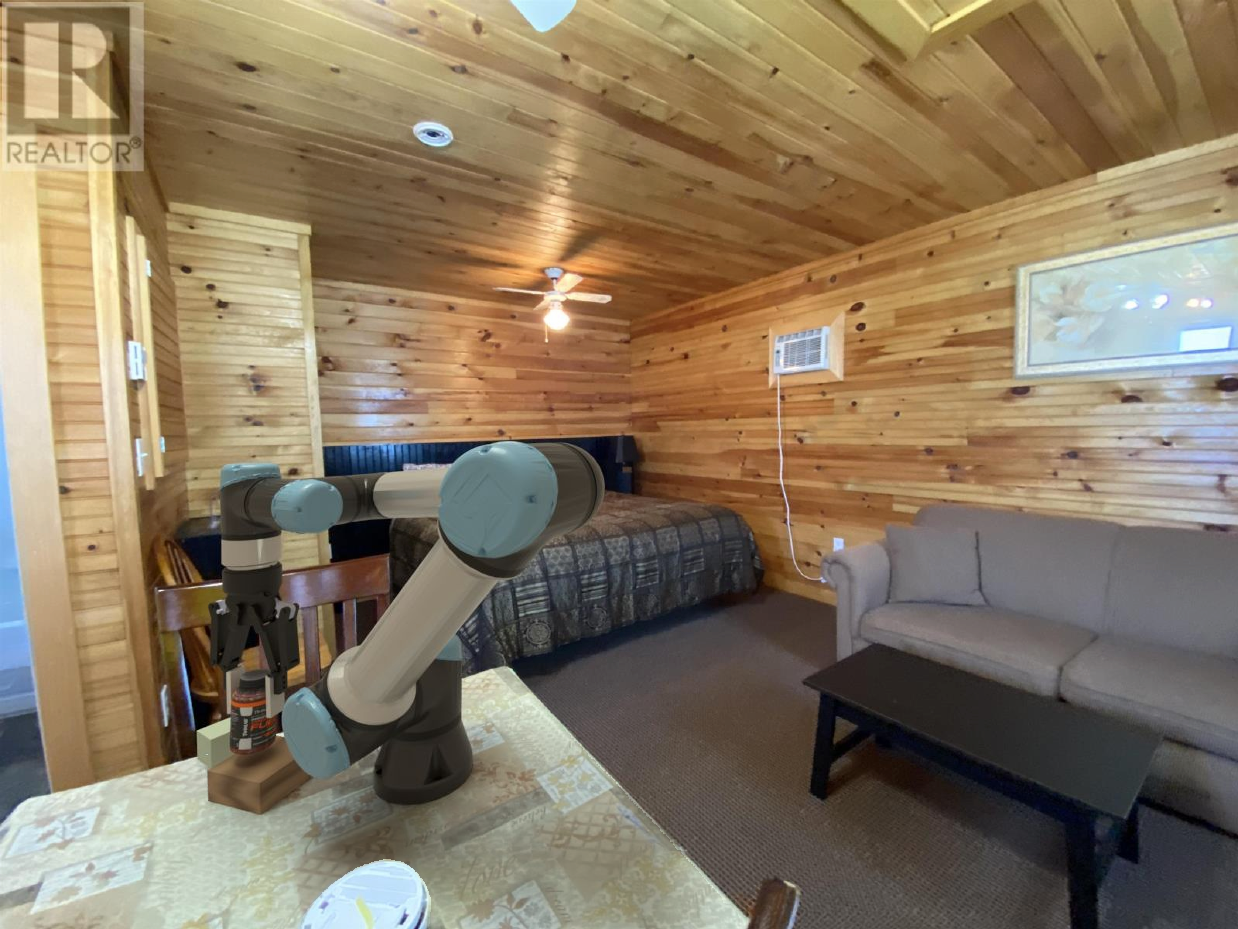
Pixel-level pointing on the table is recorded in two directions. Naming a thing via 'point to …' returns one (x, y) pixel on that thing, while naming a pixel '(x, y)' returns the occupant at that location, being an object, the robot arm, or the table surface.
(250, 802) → the walnut block
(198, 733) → the sage block
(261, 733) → the supplement bottle
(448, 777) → the robot arm
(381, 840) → the table surface
